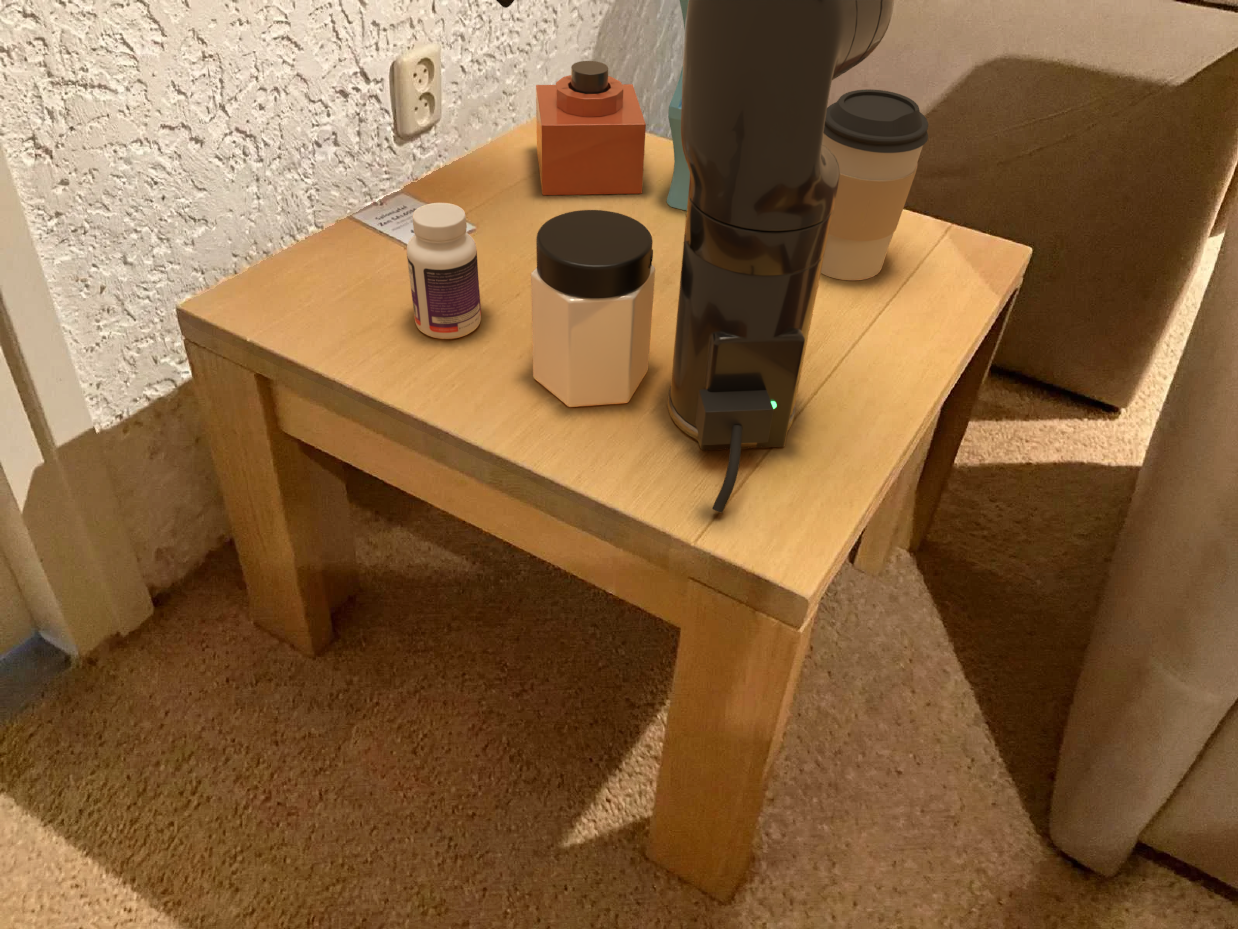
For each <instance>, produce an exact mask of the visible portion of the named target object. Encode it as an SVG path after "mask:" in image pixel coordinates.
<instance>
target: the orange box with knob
mask: <svg viewBox="0 0 1238 929" xmlns="http://www.w3.org/2000/svg"><path fill="white" fill-rule="evenodd" d="M639 102H640V101H639V99H638V96H637V93H636V90H635V87H634V84H632V83H630V84H628V83H627V84H624V83H622V81H620V80H618V79H616V78H614V77H613V76H610V75H608V91H607V92H604V93H599V94H583V93H578V92H575V91H573V90H571V74H569V75H566V76H565V75H564V76H562V77H561V78H560V79H558V80H557V81H556V82H555V84H536V85H535V106H536V108H535V112H536V113H535V114H536V115H535V117H536V118H535V119H536V120H535V122H536V124H535V125H536V155H537V161H538V162H537V164H538V169H539V170H538V171H539V178H540V186H541V193H542V196H572V195H573V196H576V195H577V196H578V195H627V194H629V195H631V194H632V195H634V194H637V195H638V194H642V193H643V182H644V165H645V164H644V163H645V147H646V146H645V145H646V130H647V123H646V121H645V118H644V115H643V111H642V108H641V105H640V103H639Z"/></svg>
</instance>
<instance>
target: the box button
mask: <svg viewBox="0 0 1238 929" xmlns="http://www.w3.org/2000/svg"><path fill="white" fill-rule="evenodd" d="M570 75H571V90H573V91H575V92H578V93H583V94H599V93H604V92H607V91H608V76H609V66H608V65H607V64H605V63H603V62H600V61H596V60H581V61H577V62H574V63H573V64H571V67H570Z"/></svg>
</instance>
